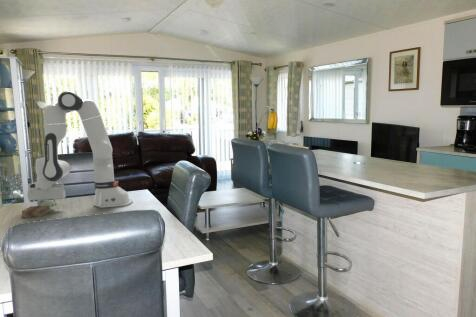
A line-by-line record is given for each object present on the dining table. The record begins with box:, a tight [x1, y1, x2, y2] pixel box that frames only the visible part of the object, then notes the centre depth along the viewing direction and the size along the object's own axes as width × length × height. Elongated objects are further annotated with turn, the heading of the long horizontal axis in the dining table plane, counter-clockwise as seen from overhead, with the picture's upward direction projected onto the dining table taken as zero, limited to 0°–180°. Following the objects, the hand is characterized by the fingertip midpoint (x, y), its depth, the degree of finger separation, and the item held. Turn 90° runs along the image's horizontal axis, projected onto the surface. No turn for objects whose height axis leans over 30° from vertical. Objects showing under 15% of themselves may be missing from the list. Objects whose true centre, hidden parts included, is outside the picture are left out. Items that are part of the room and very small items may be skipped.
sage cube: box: [41, 200, 56, 212], centre depth 212 cm, size 5×5×5 cm
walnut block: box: [21, 205, 51, 218], centre depth 202 cm, size 10×10×4 cm
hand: (48, 207), depth 212 cm, fingers closed on sage cube, 5 cm apart
